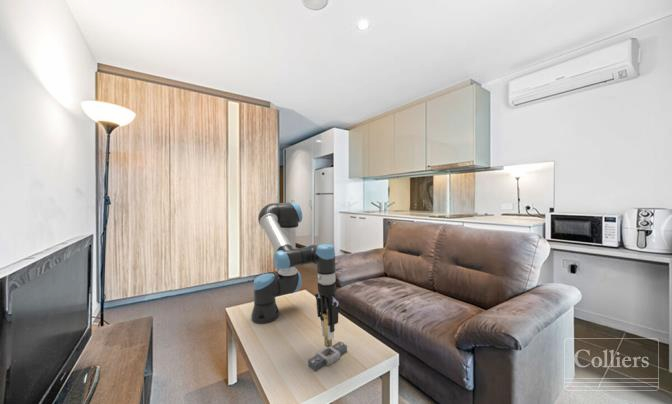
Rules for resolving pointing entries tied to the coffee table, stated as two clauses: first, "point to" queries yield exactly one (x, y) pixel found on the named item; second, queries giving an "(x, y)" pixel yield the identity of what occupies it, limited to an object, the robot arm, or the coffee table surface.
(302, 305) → the coffee table surface
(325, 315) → the pin
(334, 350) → the chain joint
